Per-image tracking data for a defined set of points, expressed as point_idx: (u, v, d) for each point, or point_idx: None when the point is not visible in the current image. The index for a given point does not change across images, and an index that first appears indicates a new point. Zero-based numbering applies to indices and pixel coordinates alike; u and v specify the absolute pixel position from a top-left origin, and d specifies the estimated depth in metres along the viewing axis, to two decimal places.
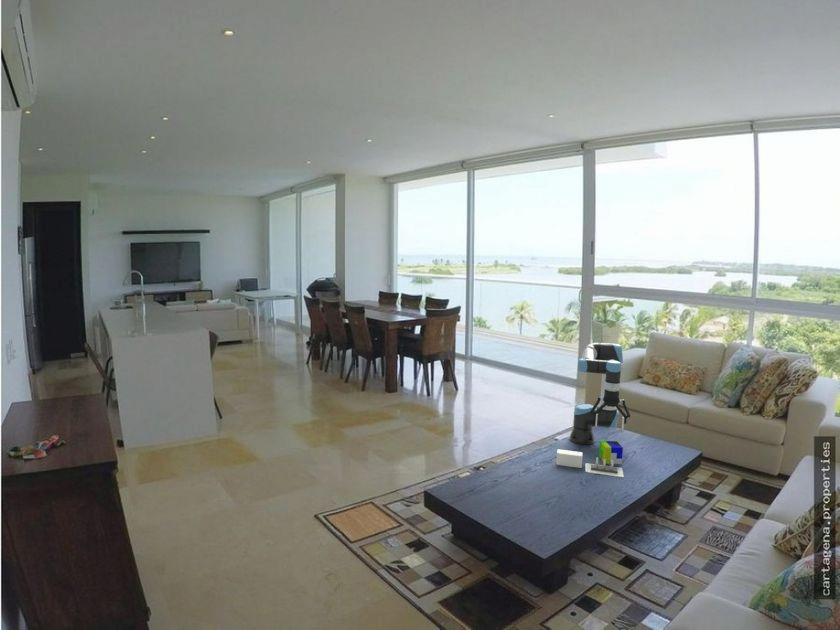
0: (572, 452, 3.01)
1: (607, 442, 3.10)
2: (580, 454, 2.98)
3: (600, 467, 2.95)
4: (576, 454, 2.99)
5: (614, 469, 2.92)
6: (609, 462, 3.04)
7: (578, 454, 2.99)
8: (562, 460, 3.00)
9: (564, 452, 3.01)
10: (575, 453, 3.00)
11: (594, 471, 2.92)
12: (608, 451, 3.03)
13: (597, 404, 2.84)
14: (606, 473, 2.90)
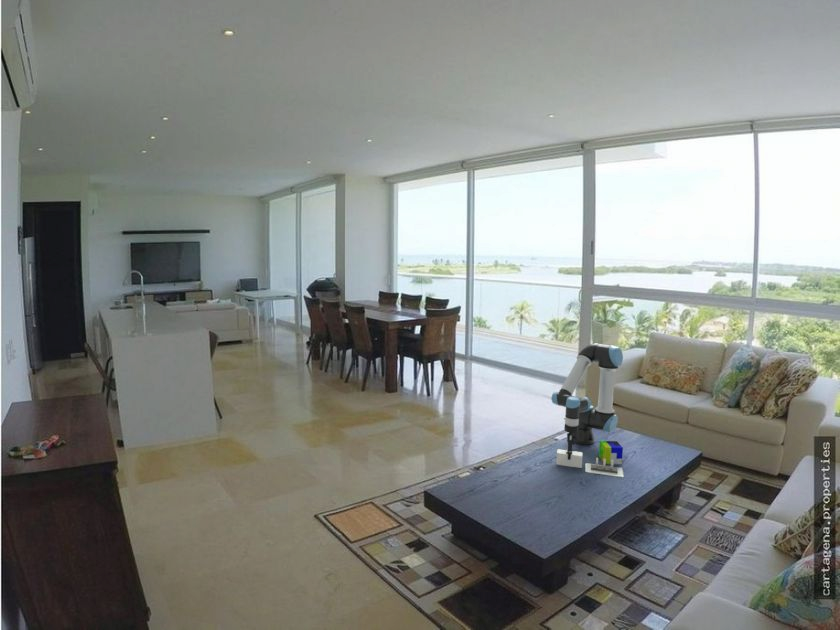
0: (572, 452, 3.01)
1: (607, 442, 3.10)
2: (580, 454, 2.98)
3: (600, 467, 2.95)
4: (576, 454, 2.99)
5: (614, 469, 2.92)
6: (609, 462, 3.04)
7: (578, 454, 2.99)
8: (562, 460, 3.00)
9: (564, 452, 3.01)
10: (575, 453, 3.00)
11: (594, 471, 2.92)
12: (608, 451, 3.03)
13: None
14: (606, 473, 2.90)
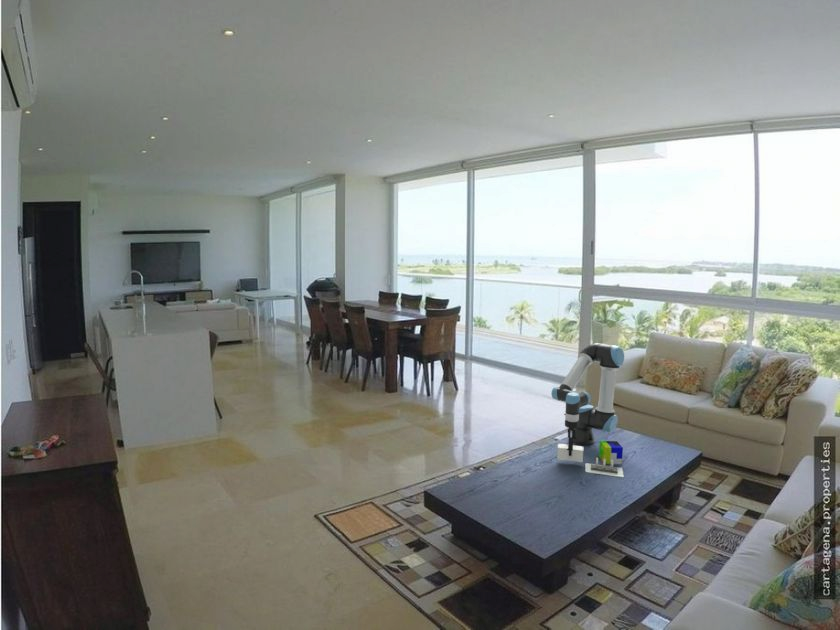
0: (573, 447, 3.00)
1: (607, 442, 3.10)
2: (581, 449, 2.98)
3: (600, 467, 2.95)
4: (577, 448, 2.98)
5: (614, 469, 2.92)
6: (609, 462, 3.04)
7: (579, 448, 2.98)
8: (563, 455, 3.00)
9: (565, 447, 3.01)
10: (576, 447, 3.00)
11: (594, 471, 2.92)
12: (608, 451, 3.03)
13: None
14: (606, 473, 2.90)
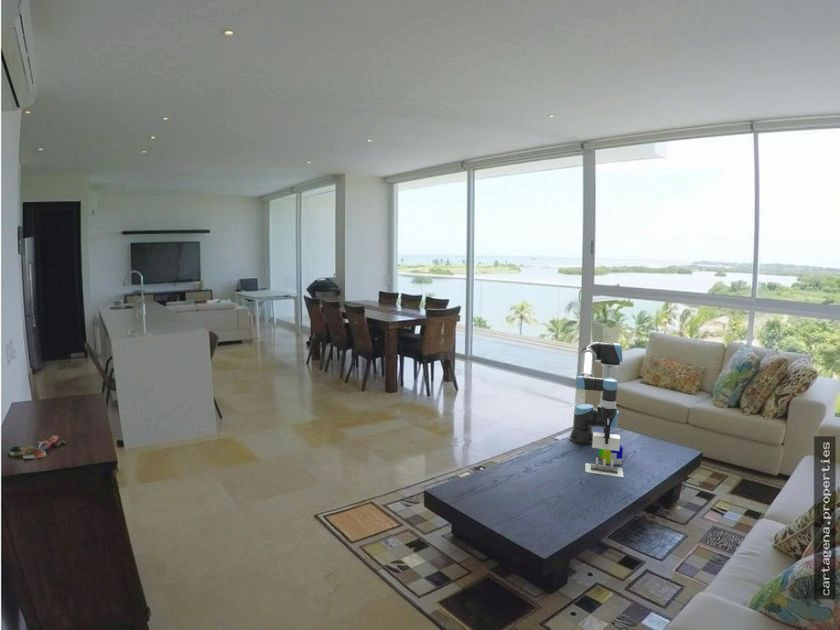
0: None
1: None
2: (618, 437, 2.89)
3: (600, 467, 2.95)
4: (613, 437, 2.89)
5: (614, 469, 2.92)
6: (609, 462, 3.04)
7: (615, 437, 2.89)
8: (599, 443, 2.90)
9: (600, 435, 2.92)
10: (612, 436, 2.90)
11: (594, 471, 2.92)
12: (608, 451, 3.03)
13: None
14: (606, 473, 2.90)
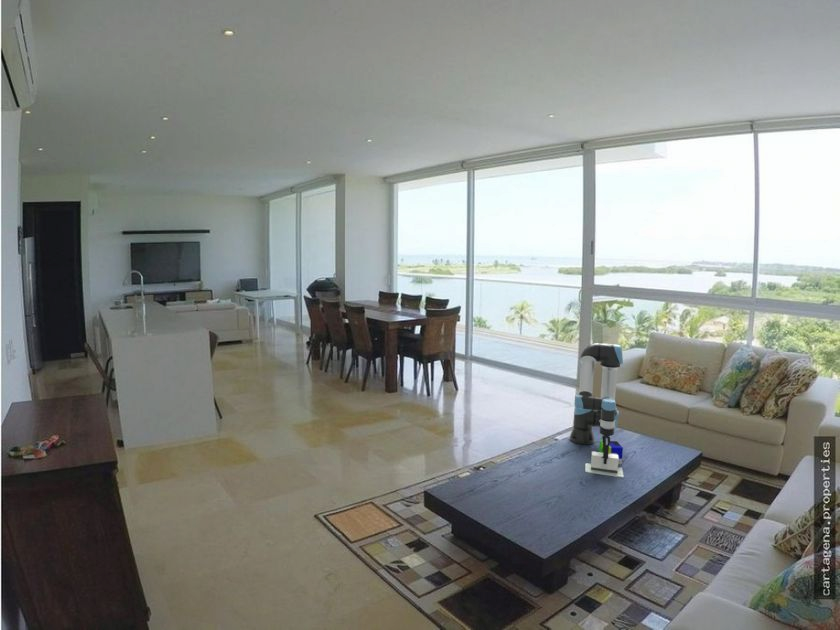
0: (608, 455, 2.93)
1: None
2: (616, 457, 2.90)
3: None
4: (612, 456, 2.91)
5: None
6: None
7: (614, 456, 2.91)
8: (597, 462, 2.92)
9: (599, 454, 2.93)
10: (611, 455, 2.92)
11: (594, 471, 2.92)
12: (608, 451, 3.03)
13: None
14: (606, 473, 2.90)
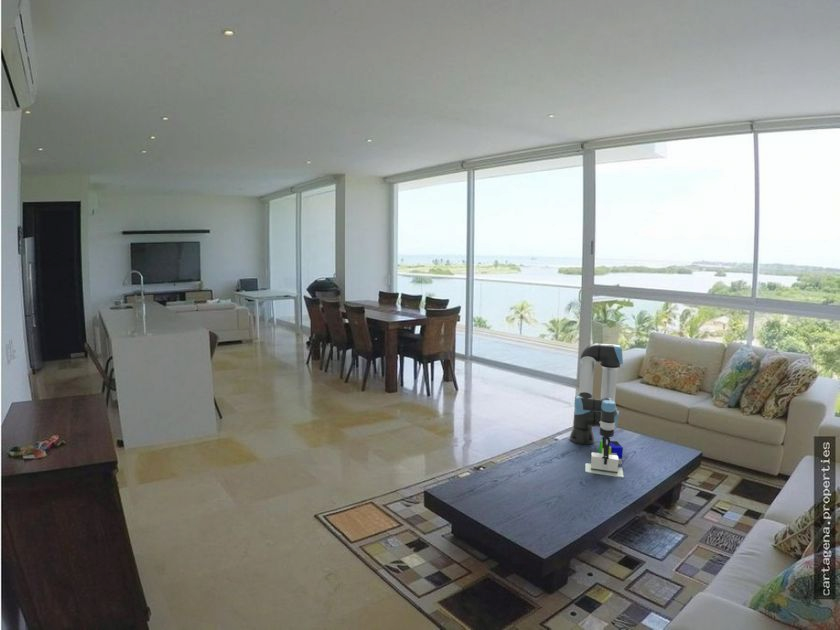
0: None
1: None
2: (616, 458, 2.91)
3: None
4: (612, 457, 2.91)
5: None
6: None
7: (614, 457, 2.91)
8: (597, 464, 2.92)
9: (599, 455, 2.93)
10: (610, 456, 2.92)
11: (594, 471, 2.92)
12: None
13: None
14: (606, 473, 2.90)
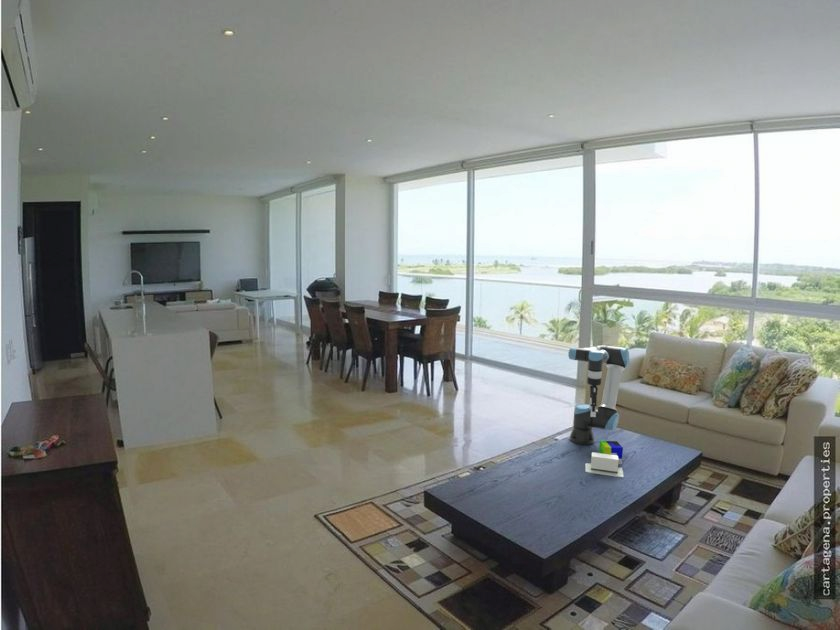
0: (608, 456, 2.93)
1: (607, 442, 3.10)
2: (616, 458, 2.91)
3: None
4: (612, 457, 2.91)
5: None
6: None
7: (614, 457, 2.91)
8: (597, 464, 2.92)
9: (599, 455, 2.93)
10: (610, 456, 2.92)
11: (594, 471, 2.92)
12: (608, 451, 3.03)
13: None
14: (606, 473, 2.90)
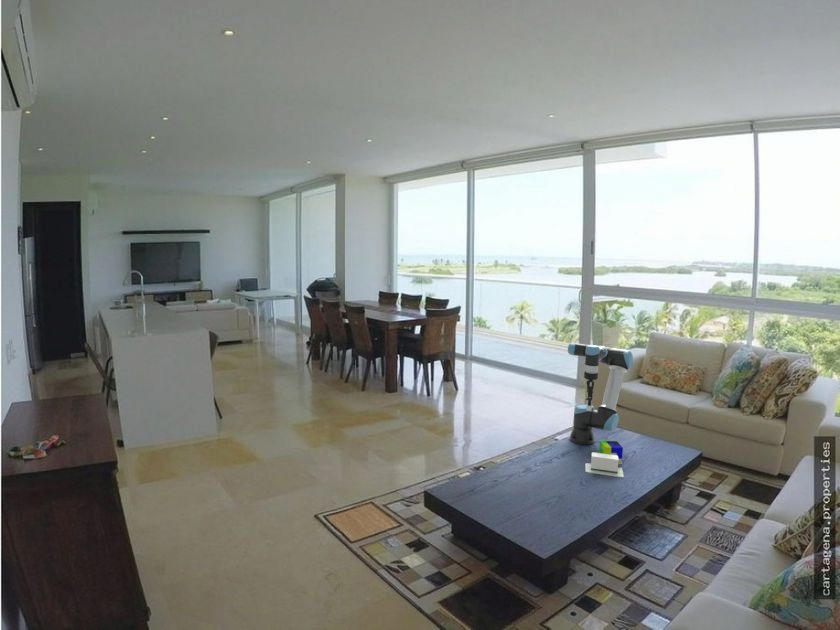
0: (608, 456, 2.93)
1: (607, 442, 3.10)
2: (616, 458, 2.91)
3: None
4: (612, 457, 2.91)
5: None
6: None
7: (614, 457, 2.91)
8: (597, 464, 2.92)
9: (599, 455, 2.93)
10: (610, 456, 2.92)
11: (594, 471, 2.92)
12: (608, 451, 3.03)
13: None
14: (606, 473, 2.90)
